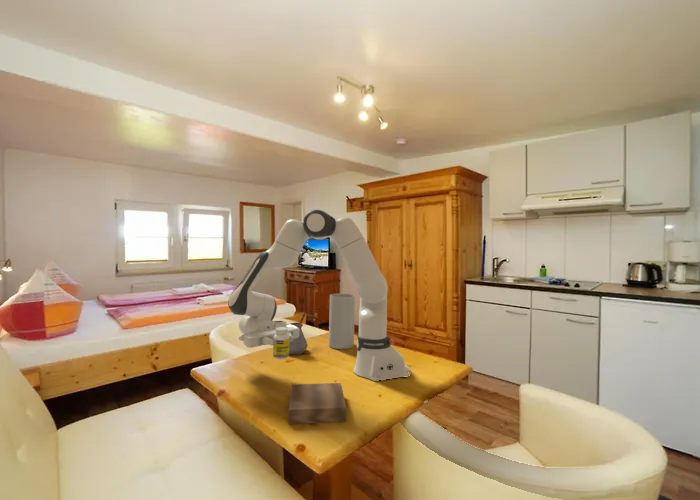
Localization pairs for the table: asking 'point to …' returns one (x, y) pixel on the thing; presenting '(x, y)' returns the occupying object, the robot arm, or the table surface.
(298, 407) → the walnut plinth
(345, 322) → the cylinder vase
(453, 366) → the table surface
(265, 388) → the table surface
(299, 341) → the coffee pot
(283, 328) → the supplement bottle
